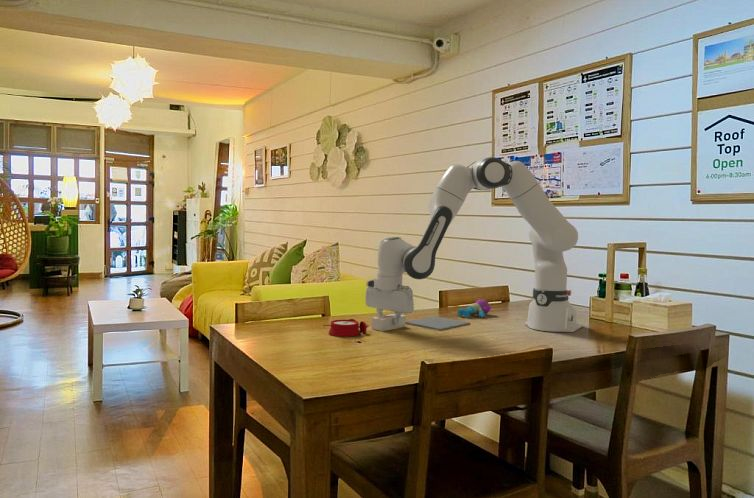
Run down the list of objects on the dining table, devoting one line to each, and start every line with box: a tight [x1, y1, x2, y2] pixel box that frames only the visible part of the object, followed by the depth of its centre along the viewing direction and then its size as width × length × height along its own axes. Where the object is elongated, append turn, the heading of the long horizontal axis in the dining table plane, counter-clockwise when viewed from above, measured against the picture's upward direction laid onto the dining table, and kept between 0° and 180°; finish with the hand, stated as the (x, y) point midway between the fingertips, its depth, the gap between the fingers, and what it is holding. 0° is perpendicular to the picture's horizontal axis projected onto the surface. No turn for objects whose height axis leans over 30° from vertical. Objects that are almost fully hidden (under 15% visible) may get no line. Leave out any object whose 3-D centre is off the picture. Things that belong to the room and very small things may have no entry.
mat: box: [405, 316, 471, 331], centre depth 218 cm, size 18×16×1 cm
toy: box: [457, 299, 493, 319], centre depth 237 cm, size 12×7×15 cm
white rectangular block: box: [371, 313, 406, 332], centre depth 209 cm, size 12×5×4 cm, turn 136°
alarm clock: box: [323, 318, 369, 337], centre depth 198 cm, size 10×6×15 cm
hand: (388, 322), depth 209 cm, fingers closed on white rectangular block, 5 cm apart
